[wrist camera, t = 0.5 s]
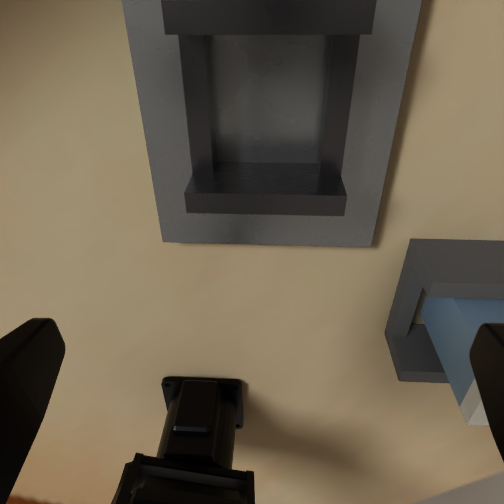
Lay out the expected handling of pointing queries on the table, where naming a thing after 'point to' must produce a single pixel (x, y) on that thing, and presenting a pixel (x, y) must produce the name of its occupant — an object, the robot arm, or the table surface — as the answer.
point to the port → (270, 114)
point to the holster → (438, 296)
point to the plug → (460, 344)
